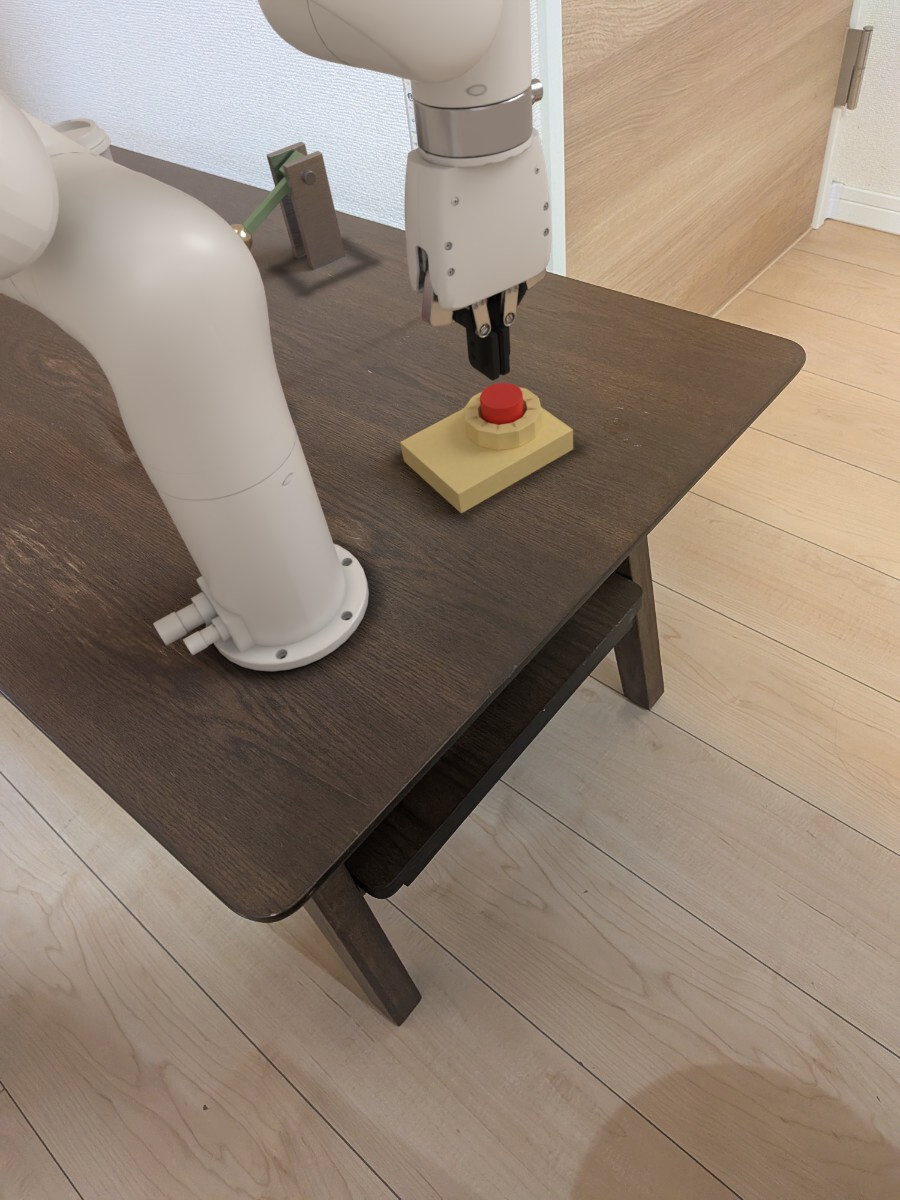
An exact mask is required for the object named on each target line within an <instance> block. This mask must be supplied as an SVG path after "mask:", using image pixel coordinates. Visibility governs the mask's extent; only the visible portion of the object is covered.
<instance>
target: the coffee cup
mask: <svg viewBox="0 0 900 1200" xmlns="http://www.w3.org/2000/svg"><path fill="white" fill-rule="evenodd" d="M49 126H50V127H52V128H53V129H55V130H57V131H58V132H60V133H61V134H63V135H65V136H66V137H68V138H70V139H71V140H73V141H75V142H77V143H78V144H80V145H82V146H84V147H85V148H87V149H89V150H91V151H93V152H95V153H96V154H98V155H100V156H102V157H104V158H106V159H108V160H110V161H113V162H115V161H114V158H113V155H112V152H111V148H110V145H111V143H112V140H111V139H112V138H110V136H109V134H108V133H106V131H105V130H104V129H102V128H101V127H100V126H99V125H98V123H97V122H96V120H94V119H90V118H73V119H68V120H67V119H66V120H63V121H58V122H56V123H52V124H50V125H49Z"/></svg>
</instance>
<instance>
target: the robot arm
mask: <svg viewBox="0 0 900 1200" xmlns="http://www.w3.org/2000/svg"><path fill="white" fill-rule="evenodd" d="M257 3H258V5H259V7H260V10H261V12H262V14H263V16H264V17H265V19H266V21H267V22H268V24H269V25H270V27H271V28H272V29H273V31H274V32H275V33H276V34H277V35H278V37H280V38H281V39H282V40H283V41H284V42H286V44H288V45H289V46H291V47H293V48H294V49H295V50H297V51H298V52H300V53H302V54H305V55H307V56H310V57H312V58H314V59H319V60H321V61H326V62H330V63H334V64H338V65H342V66H347V67H351V68H357V69H364V70H366V71H367V70H368V71H371V72H375V73H379V74H380V73H381V74H384V75H389V76H394V77H397V78H401V79H404V80H409V81H410V90H411V98H412V107H413V115H414V123H415V133H416V140H417V143H416V144H417V148H415V149H413V150H410V151H409V152H408V153H407V158H406V167H405V175H404V176H405V177H404V181H405V182H404V204H403V205H404V206H403V207H404V208H403V209H404V233H405V250H406V261H407V270H408V278H409V283H410V286H411V289H412V290H413V291H414V292H415V293H418V294H423V295H422V305H421V319H422V321H424V322H425V323H427V324H428V325H430V326H431V327H432V328H438V327H446V326H450V325H453V324H458V325H460V326H461V327H463V328H465V334H466V346H467V357H468V362H469V364H470V365H471V367H472V368H473V369H475V370H476V371H477V372H479V373H481V374H482V375H483V376H485V377H486V378H488V379H489V380H491V381H493V382H494V381H496V380H497V379H499V378H500V376H501V375H502V376H505V375H507V374H510V372H511V363H510V356H511V335H510V327H511V326H512V325H514V323H515V322H516V319H517V313H518V312H517V311H518V307H519V305H520V304H521V301H522V300H523V298H524V296H525V295H526V293H527V291H530V290H531V289H532V288H534V287H535V286H537V285H538V284H540V282H542V281H544V279H545V277H546V275H547V267H548V265H549V263H550V260H551V252H552V213H551V199H550V189H549V180H548V173H547V167H546V160H545V154H544V150H543V145H542V141H541V137H540V133H539V131H538V130H537V129H536V128H535V127H534V125H533V123H534V121H533V120H534V119H533V106H534V104H535V103H538V102H540V101H541V100H542V99H543V97H544V87H543V83H542V82H541V80H540V79H538V78H535V77H534V78H533V76H532V75H533V73H532V35H531V34H532V33H531V31H532V29H531V26H532V25H531V24H532V23H531V0H257ZM113 161H114V160H113ZM113 161H110V160H108V159H106V158H104V157H102V156H100V155H98V154H96V153H95V152H93V151H91V150H89V149H87V148H85V147H84V146H82V145H80V144H78V143H77V142H75V141H73V140H71V139H70V138H68V137H66V136H65V135H63V134H61V133H60V132H58V131H57V130H55V129H53V128H52V127H50V125H48V124H47V123H45V122H44V121H42V120H40V119H39V118H37V117H36V116H34V115H33V114H30V112H27V111H25V110H24V109H22V108H21V107H19V106H18V105H17V104H16V103H15V102H14V101H13V99H11V97H9V95H8V94H7V93H6V92H5V91H4V89H2V88H1V87H0V294H2V295H4V296H6V297H9V298H11V299H13V300H15V301H18V302H19V303H22V304H24V305H26V306H28V307H30V308H32V309H34V310H35V311H36V312H38V313H40V314H41V315H43V316H45V317H46V318H48V319H49V320H50V321H52V322H53V323H55V324H56V325H57V326H58V327H59V328H60V329H61V331H64V332H65V333H66V334H67V335H69V336H70V337H71V338H73V339H74V340H75V341H77V342H78V343H79V344H81V345H82V346H83V347H84V348H85V349H86V350H87V352H88V353H89V354H90V355H91V356H92V357H93V358H94V359H95V361H96V362H97V364H98V365H99V366H100V369H101V370H102V372H103V373H104V375H105V377H106V379H107V381H108V383H109V385H110V387H111V389H112V392H113V394H114V398H115V399H116V400H115V401H116V404H117V407H118V411H119V414H120V418H121V420H122V423H123V426H124V428H125V431H126V434H127V437H128V439H129V441H130V443H131V444H132V447H133V449H134V451H135V453H136V456H137V458H138V459H139V461H140V463H141V465H142V466H143V468H144V471H145V472H146V474H147V476H148V478H149V480H150V482H151V484H152V485H153V486H154V488H155V489H156V492H157V494H158V495H159V497H160V499H161V501H162V503H163V505H164V507H165V509H166V510H167V513H168V515H169V516H170V519H171V520H172V522H173V524H174V526H175V528H176V529H177V532H178V533H179V535H180V537H181V539H182V541H183V543H184V545H185V546H186V548H187V550H188V552H189V555H190V557H191V558H192V560H193V562H194V563H195V565H196V567H197V569H198V571H199V573H200V575H201V576H199V577H198V578H196V582H197V584H198V586H199V588H200V590H201V592H198V594H196V595H194V596H192V597H190V600H191V602H192V603H190V604H189V605H187V606H185V607H183V608H181V609H179V610H177V611H173V612H171V613H169V614H167V615H165V616H163V617H161V618H160V619H158V620H156V621H154V622H152V624H153V627H154V628H155V630H156V632H157V633H158V635H159V637H160V638H161V640H162V641H163V643H164V645H165V646H169V645H171V644H173V643H175V642H176V641H178V640H180V639H182V638H183V637H185V636H187V635H188V634H189V633H190V632H191V631H193V630H194V629H196V628H198V627H200V626H202V625H204V624H205V628H202V629H201V630H197V631H196V632H194V633H192V634H190V635H188V636H187V637H185V638H183V639H182V641H183V643H184V644H185V646H186V647H187V650H188V651H189V652H190V654H191V656H192V657H193V656H195V655H196V654H198V653H199V652H202V651H203V650H205V649H207V648H209V646H210V645H212V644H213V646H215V648H216V649H217V650H218V652H219V654H221V655H222V656H223V657H225V658H226V659H227V660H228V661H230V662H231V663H234V664H236V665H238V666H240V667H242V668H245V669H250V670H254V671H262V672H279V671H290V670H293V669H296V668H301V667H305V666H307V665H309V664H312V663H314V662H317V661H318V660H319V661H320V660H321V659H322V658H325V657H326V656H328V655H329V654H331V653H333V652H334V651H336V650H337V649H339V648H340V646H342V645H343V644H344V643H346V642H347V640H348V639H349V638H350V637H351V636H352V635H353V634H354V633H355V632H356V630H357V629H358V627H359V625H360V624H361V622H362V621H363V619H364V616H365V615H366V611H367V608H368V605H369V595H370V591H369V583H368V580H367V577H366V574H365V571H364V568H363V567H362V565H361V563H360V562H359V560H358V559H357V558H356V557H355V556H354V555H353V554H352V553H351V552H350V551H349V550H347V549H345V548H343V546H340V545H339V544H336V543H334V541H333V537H332V535H331V532H330V529H329V526H328V523H327V520H326V517H325V513H324V510H323V508H322V505H321V502H320V498H319V496H318V492H317V490H316V486H315V483H314V480H313V477H312V475H311V471H310V468H309V465H308V463H307V458H306V456H305V453H304V450H303V447H302V445H301V441H300V438H299V435H298V433H297V429H296V426H295V424H294V421H293V418H292V415H291V413H290V410H289V409H290V408H289V406H288V402H287V400H286V396H285V394H284V390H283V386H282V383H281V380H280V376H279V371H278V369H277V368H278V367H277V364H276V359H275V354H274V348H273V341H272V335H271V327H270V319H269V308H268V301H267V295H266V291H265V286H264V282H263V279H262V276H261V273H260V269H259V267H258V264H257V262H256V260H255V257H254V256H253V254H252V253H251V251H249V249H248V248H247V246H246V244H245V243H244V242H243V240H242V239H241V237H240V236H239V235H238V234H237V232H236V231H235V230H234V229H233V228H232V227H231V226H230V225H231V224H229V223H228V222H227V221H226V219H224V218H223V217H222V216H221V215H219V213H218V212H216V211H215V210H214V209H212V208H210V207H209V206H208V205H207V204H205V203H203V202H202V201H200V200H199V199H197V198H196V197H194V196H192V195H190V194H188V193H186V192H185V191H183V190H181V189H178V188H176V187H174V186H172V185H169V184H168V183H165V182H162V181H161V180H158V179H156V178H153V177H152V176H150V175H147V174H145V173H142V172H139V171H136V170H133V169H131V168H128V167H127V166H123V165H122V164H119V163H117V162H115V161H114V162H113Z"/></svg>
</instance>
